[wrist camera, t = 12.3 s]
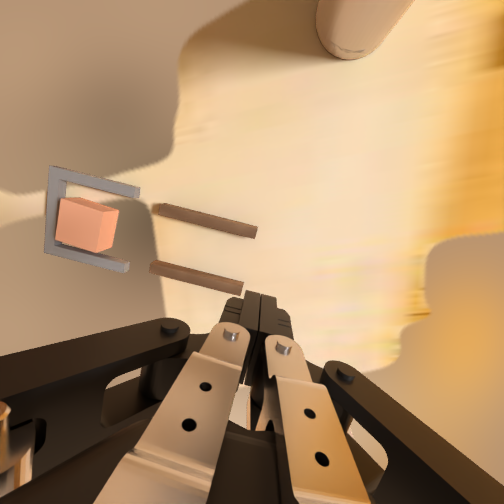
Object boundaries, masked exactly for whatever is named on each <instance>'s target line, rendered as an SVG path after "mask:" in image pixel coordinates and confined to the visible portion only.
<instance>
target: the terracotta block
mask: <svg viewBox="0 0 504 504" xmlns="http://www.w3.org/2000/svg"><path fill="white" fill-rule="evenodd" d="M118 215H119V210H117V209H115V208H112V207H108V206H105V205H102V204H99V203H95V202H92V201H89V200H86V199H83V198H61V201H60V208H59V215H58V222H57V229H56V236H55V240H57V241H60V242H64V243H67V244H70V245H73V246H76V247H79V248H82V249H85V250H88V251H91V252H94V253H97V252H100V251H103V250H105V249H108V248H111V247H112V245H113V240H114V235H115V230H116V225H117V220H118Z"/></svg>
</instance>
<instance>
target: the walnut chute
mask: <svg viewBox="0 0 504 504" xmlns="http://www.w3.org/2000/svg"><path fill="white" fill-rule="evenodd" d="M159 215H163V216H167V217H171V218H174V219H178V220H182V221H186V222H190V223H194V224H198V225H202V226H206V227H210V228H214V229H217V230H221V231H225V232H229V233H233V234H237V235H241V236H245V237H249V238H253V239H255V236H256V232H257V228H258V227H257V226H253V225H249V224H245V223H241V222H237V221H233V220H229V219H225V218H221V217H217V216H214V215H210V214H206V213H202V212H198V211H194V210H190V209H186V208H182V207H178V206H174V205H170V204H167V203H163V204H160V208H159ZM149 273H152V274H156V275H160V276H164V277H168V278H171V279H175V280H179V281H183V282H187V283H191V284H195V285H199V286H203V287H207V288H211V289H214V290H218V291H222V292H226V293H230V294H234V295H238V296H240V295H241V291H242V287H243V283H244V282H241V281H237V280H233V279H229V278H225V277H221V276H217V275H213V274H209V273H205V272H201V271H198V270H194V269H190V268H186V267H182V266H178V265H174V264H170V263H166V262H162V261H159V260H155V261H154V262H152V263H151V264H150V270H149Z"/></svg>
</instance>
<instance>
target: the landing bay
mask: <svg viewBox="0 0 504 504" xmlns="http://www.w3.org/2000/svg"><path fill="white" fill-rule="evenodd" d="M66 181H69V182H73V183H77V184H81V185H84V186H88V187H92V188H96V189H100V190H104V191H108V192H112V193H116V194H120V195H124V196H128V197H131V198H139V194H140V187H136V186H132V185H128V184H124V183H120V182H116V181H112V180H108V179H105V178H101V177H97V176H93V175H89V174H85V173H81V172H77V171H73V170H69V169H65V168H61V167H57V166H49V178H48V194H47V211H46V228H45V244H44V245H45V246H44V253H47V254H51V255H55V256H59V257H63V258H67V259H71V260H74V261H78V262H82V263H86V264H90V265H94V266H98V267H102V268H106V269H109V270H113V271H117V272H121V273H125V272H126V271H128V270H129V264H130V261H127V260H123V259H119V258H115V257H111V256H107V255H103V254H99V253H94V252H91V251H88V250H84V249H80V248H76V247H72V246H68V245H64V244H62V242H60V241H57V240H55V236H56V229H57V222H58V215H59V208H60V201H61V198H65V194H66Z"/></svg>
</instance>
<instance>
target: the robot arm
mask: <svg viewBox="0 0 504 504" xmlns="http://www.w3.org/2000/svg"><path fill="white" fill-rule="evenodd" d="M414 1H415V0H319V3H318V7H317V11H316V30H317V33H318V36H319V39H320V41H321V43H322V45H323V46H324V47H325V48H326V49H327V51H328V52H330V53H331V54H333V55H334V56H336V57H339V58H341V59H348V60H351V59H358V58H361V57H364V56H366V55H368V54H370V53H371V52H373V51H374V50H375V49H376V48H377V47H378V46H379V45H380V44H381V43H382V42H383V40H384V39H385V38H386V36H387V35H388V34H389V33H390V31H391V30H392V29H393V27H394V26H395V25H396V24H397V23H398V21H399V20H400V19H401V17H402V16H403V15H404V14H405V12H406V11H407V10H408V8H409V7H410V6H411V4H412V3H413V2H414ZM141 367H142V368H141ZM138 368H141V374H140V376H139V377H136V378H134V379H131V380H128V381H126V382H123V383H121V384H118V385H116V386H114V387H111V388H108V389H106V387H107V385H108V384H109V383H110V382H111V381H112V380H113V379H114V378H115V377H118V376H120V375H122V374H125V373H127V372H130V371H133V370H136V369H138ZM245 374H246V375H245ZM244 377H245V383H244V385H248V386H251V391H250V394H249V397H248V401H247V429H245V428H243V427H241V426H239V425H237V424H235V423H233V422H232V421H230V420H228V419H229V415H230V411H231V407H232V404H233V400H234V396H235V393H236V392H237V390H238V386H239V383H240V384H243V381H244ZM105 389H106V390H105ZM353 418H354V419H355V420H356V421H357V422H358V423H359V424H360V425H361V426H362V427H363V428H364V429H366V430H367V431H368V432H369V433H370V434H371V435H372V436H373V437H374V438H375V439H376V440H377V441H378V442H379V443H380V444H381V445H382V447H383V448H384V449H385V451H386V453H387V457H388V465H387V468H386V470H385V471H384V470H383V469H382V468H381V467H380V466H379V465H378V464H377V463H376V462H375V461H374V460H373V459H372V458H371V456H370V455H369V454H368V453H367V452H366V451H365V450H364V449H363V448H362V447H361V446H360V445H359V444H358V443H357V442H356V441H355V440H354V439H353V438H352V437H351V436H350V435H349V434H348V433H347V432H348V430H349V427H350V425H351V422H352V420H353ZM0 504H504V486H503V485H502V484H500V483H499V482H498V481H496V480H495V479H494V478H493V477H491V476H490V475H489V474H488V473H486V472H485V471H484V470H483V469H481V468H480V467H479V466H478V465H476V464H475V463H474V462H473V461H471V460H470V459H469V458H467V457H466V456H465V455H464V454H462V453H461V452H460V451H459V450H457V449H456V448H455V447H454V446H452V445H451V444H450V443H448V442H447V441H446V440H445V439H443V438H442V437H441V436H440V435H438V434H437V433H436V432H435V431H433V430H432V429H431V428H430V427H428V426H427V425H426V424H424V423H423V422H422V421H420V420H419V419H418V418H417V417H416V416H414V415H413V414H412V413H411V412H409V411H408V410H407V409H405V408H404V407H403V406H401V405H400V404H399V403H398V402H396V401H395V400H394V399H393V398H392V397H390V396H389V395H388V394H387V393H385V392H384V391H383V390H381V389H380V388H379V387H377V386H376V385H375V384H374V383H373V382H371V381H370V380H369V379H367V378H366V377H365V376H364V375H362V374H361V373H360V372H359V371H357V370H356V369H355V368H353V367H352V366H350V365H348V364H346V363H343V362H340V361H328V362H326V364H325V366H324V368H320V367H318V366H316V365H314V364H312V363H310V362H308V361H307V360H305V357H304V354H303V351H302V349H301V347H300V346H299V345H298V344H297V343H296V342H295V341H294V338H293V332H292V328H291V321H290V316H289V315H288V313H287V312H286V311H285V310H283V309H279V308H277V302H276V297H272V296H268V295H264V294H261V297H260V293H256V292H252V291H248V290H246V292H245V296H244V299H240V298H236V297H232V298H230V299H228V300H227V302H226V305H225V307H224V310H223V313H222V315H221V318H220V321H219V323H218V324H216V325H215V326H214V327H213V328H212V330H211V332H210V333H207V334H190V327H189V326H188V325H187V324H186V323H185V322H183V321H181V320H178V319H174V318H160V319H155V320H151V321H147V322H143V323H139V324H134V325H130V326H126V327H122V328H118V329H113V330H109V331H105V332H101V333H96V334H92V335H88V336H84V337H80V338H76V339H71V340H67V341H63V342H59V343H54V344H50V345H46V346H42V347H38V348H34V349H29V350H25V351H21V352H17V353H13V354H8V355H4V356H0Z"/></svg>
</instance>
